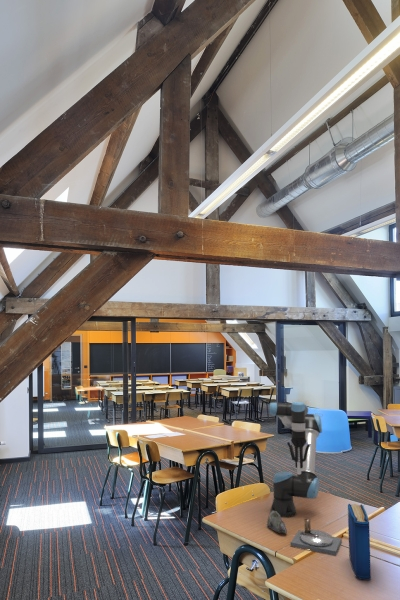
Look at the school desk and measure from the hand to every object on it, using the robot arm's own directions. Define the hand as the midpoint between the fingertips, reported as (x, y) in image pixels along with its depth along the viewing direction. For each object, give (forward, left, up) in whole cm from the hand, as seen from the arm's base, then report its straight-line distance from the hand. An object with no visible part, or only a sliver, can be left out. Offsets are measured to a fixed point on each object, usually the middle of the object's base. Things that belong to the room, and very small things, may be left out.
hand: (299, 473), depth 244 cm
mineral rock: (+8, -11, -30) cm, 33 cm away
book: (+32, +35, -30) cm, 56 cm away
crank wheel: (+15, +12, -27) cm, 33 cm away
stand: (+15, +12, -29) cm, 35 cm away
